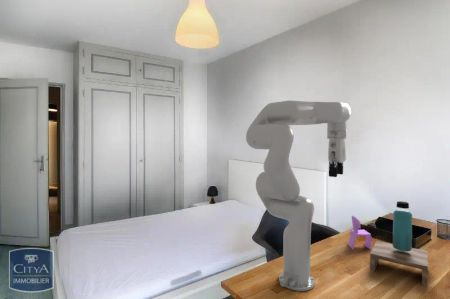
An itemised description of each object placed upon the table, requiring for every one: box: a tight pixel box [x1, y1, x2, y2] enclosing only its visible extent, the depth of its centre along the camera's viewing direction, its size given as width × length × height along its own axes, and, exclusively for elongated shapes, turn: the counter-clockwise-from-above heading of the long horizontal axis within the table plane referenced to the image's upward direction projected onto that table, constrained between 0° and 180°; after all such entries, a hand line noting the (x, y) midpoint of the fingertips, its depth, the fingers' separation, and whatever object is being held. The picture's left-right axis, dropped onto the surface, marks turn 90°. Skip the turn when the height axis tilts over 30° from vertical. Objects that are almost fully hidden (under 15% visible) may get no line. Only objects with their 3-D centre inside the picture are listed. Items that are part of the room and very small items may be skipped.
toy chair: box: [347, 215, 373, 251], centre depth 128 cm, size 8×9×15 cm
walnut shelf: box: [369, 240, 429, 287], centre depth 106 cm, size 16×18×7 cm
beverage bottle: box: [391, 200, 413, 251], centre depth 106 cm, size 6×7×20 cm
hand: (336, 175), depth 114 cm, fingers open, 9 cm apart
